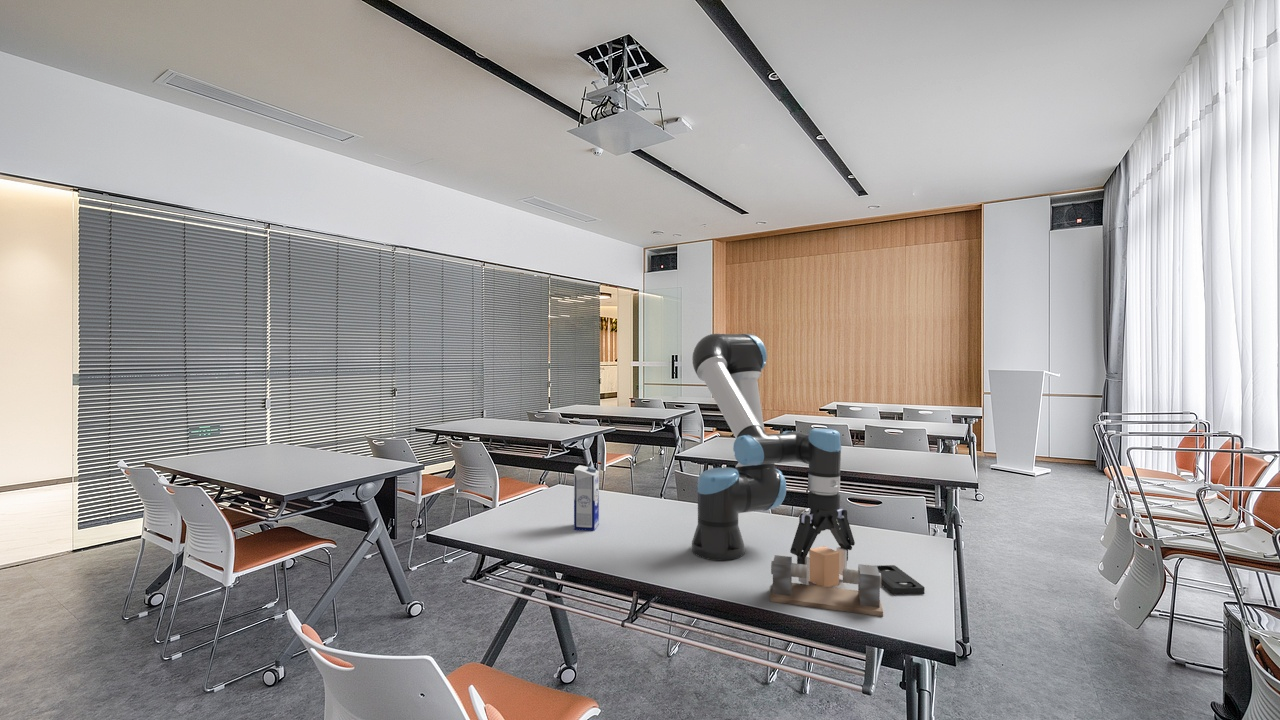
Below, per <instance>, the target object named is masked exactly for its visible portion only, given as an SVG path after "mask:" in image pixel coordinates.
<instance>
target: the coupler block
mask: <svg viewBox="0 0 1280 720" xmlns="http://www.w3.org/2000/svg"><path fill="white" fill-rule="evenodd" d="M808 556H809V583H813V585H814V584H815V585H816V586H824V587H832V588H833V587H835V586H839V585H840V574H839V552H837V551H836V550H835V549H831V548H829V547H826V546H824V545H823V546H819V547H813V548H810V550H809V552H808Z"/></svg>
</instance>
